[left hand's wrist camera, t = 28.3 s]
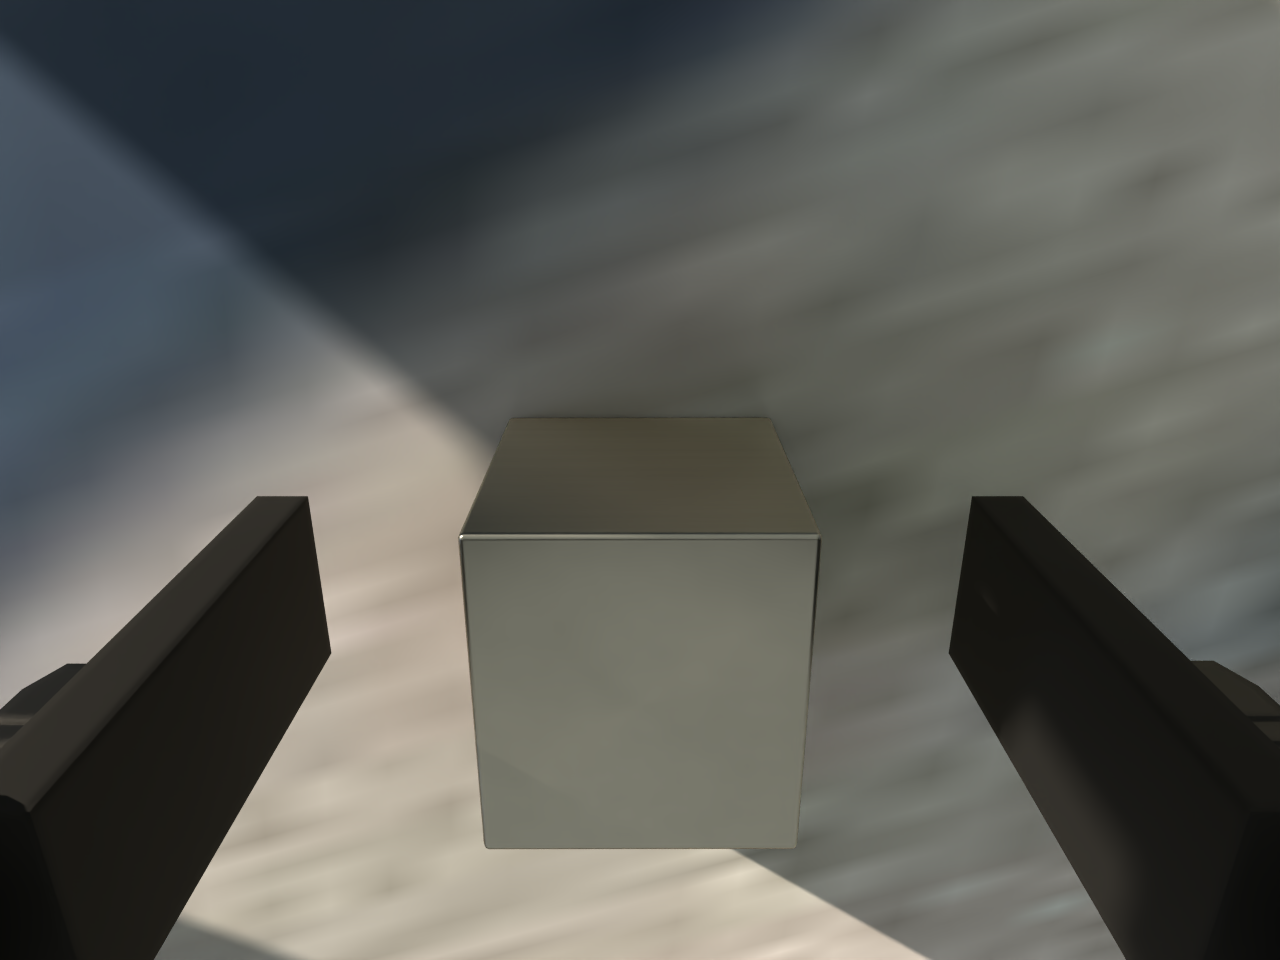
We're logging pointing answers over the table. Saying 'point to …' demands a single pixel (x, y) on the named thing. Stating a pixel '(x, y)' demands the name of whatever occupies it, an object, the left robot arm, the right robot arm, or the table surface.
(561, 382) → the table surface
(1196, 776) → the left robot arm
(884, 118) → the table surface
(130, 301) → the table surface
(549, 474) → the grey block
